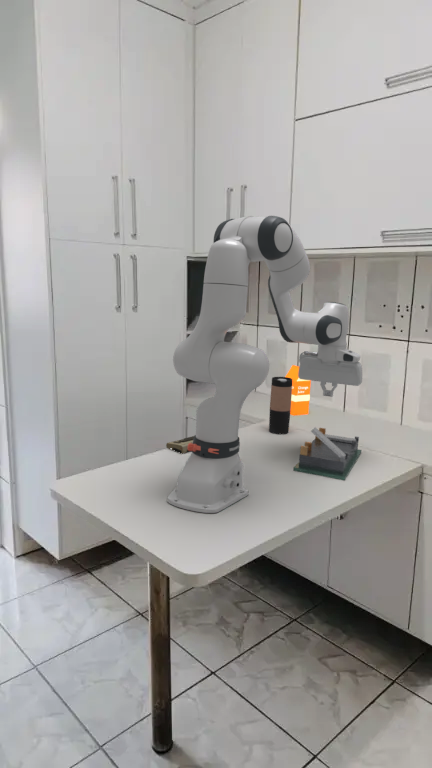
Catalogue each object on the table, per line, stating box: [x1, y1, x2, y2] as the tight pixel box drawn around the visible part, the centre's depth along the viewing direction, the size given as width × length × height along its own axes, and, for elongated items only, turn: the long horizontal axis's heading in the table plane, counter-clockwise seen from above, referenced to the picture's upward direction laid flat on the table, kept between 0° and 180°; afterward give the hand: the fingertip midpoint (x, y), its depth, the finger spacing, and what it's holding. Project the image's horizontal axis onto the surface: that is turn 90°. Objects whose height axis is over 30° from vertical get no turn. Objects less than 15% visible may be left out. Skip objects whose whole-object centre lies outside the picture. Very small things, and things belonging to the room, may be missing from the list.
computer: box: [165, 435, 195, 455], centre depth 172 cm, size 16×8×3 cm, turn 136°
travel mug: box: [268, 376, 292, 435], centre depth 191 cm, size 8×8×20 cm
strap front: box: [310, 426, 346, 458], centre depth 153 cm, size 3×12×1 cm
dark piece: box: [292, 427, 362, 481], centre depth 162 cm, size 28×15×7 cm, turn 155°
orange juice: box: [284, 364, 312, 417], centre depth 221 cm, size 8×9×20 cm
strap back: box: [323, 433, 356, 443], centre depth 170 cm, size 3×12×1 cm, turn 65°
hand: (327, 396), depth 169 cm, fingers closed
